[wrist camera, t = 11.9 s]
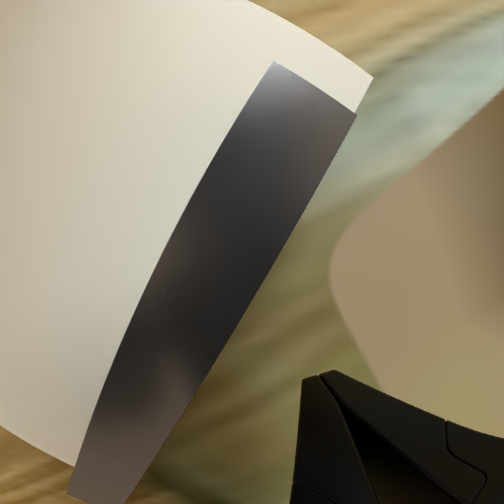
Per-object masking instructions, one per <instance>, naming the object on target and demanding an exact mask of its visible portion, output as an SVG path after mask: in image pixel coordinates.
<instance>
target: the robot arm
mask: <svg viewBox="0 0 504 504" xmlns="http://www.w3.org/2000/svg"><path fill="white" fill-rule="evenodd" d="M289 504H504V438H500V437H495V436H492V435H488V434H485V433H481V432H478V431H475V430H472V429H469V428H466V427H464V426H461V425H458V424H456V423H453V422H451V421H448V420H447V421H446V422H445V419H443V418H441V417H438V416H436V415H433V414H431V413H429V412H426V411H423V410H421V409H419V408H417V407H415V406H412V405H410V404H407V403H405V402H403V401H401V400H399V399H396V398H394V397H392V396H390V395H387V394H385V393H383V392H381V391H379V390H377V389H374V388H372V387H370V386H368V385H366V384H364V383H362V382H359V381H357V380H355V379H353V378H351V377H349V376H347V375H345V374H343V373H341V372H339V371H337V370H331V371H328V372H324V373H321V374H320V375H319V376H317V375H315V376H311V377H308V378H304V379H303V380H302V385H301V399H300V411H299V423H298V434H297V445H296V455H295V464H294V473H293V484H292V489H291V497H290V503H289Z"/></svg>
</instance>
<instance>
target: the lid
mask: <svg viewBox="0 0 504 504" xmlns="http://www.w3.org/2000/svg"><path fill="white" fill-rule="evenodd" d="M372 80H373V77H372V76H371V75H369V74H368V73H367V72H365V71H364V70H363V69H361V68H360V67H359V66H357V65H356V64H354V63H353V62H352V61H350V60H349V59H347V58H346V57H344V56H343V55H342V54H340V53H339V52H337V51H336V50H334V49H333V48H331V47H330V46H328V45H327V44H325V43H323V42H322V41H320V40H319V39H317V38H316V37H314V36H312V35H311V34H309V33H307V32H306V31H304V30H302V29H301V28H299V27H297V26H296V25H294V24H292V23H290V22H289V21H287V20H285V19H283V18H281V17H279V16H278V15H276V14H274V13H272V12H270V11H268V10H266V9H264V8H262V7H260V6H258V5H256V4H254V3H252V2H250V1H248V0H0V426H2V427H3V428H5V429H6V430H8V431H9V432H11V433H13V434H14V435H16V436H17V437H19V438H21V439H22V440H24V441H26V442H27V443H29V444H31V445H33V446H34V447H36V448H38V449H40V450H42V451H43V452H45V453H47V454H49V455H51V456H53V457H55V458H57V459H59V460H61V461H63V462H65V463H67V464H69V465H71V466H73V467H75V468H74V471H73V474H72V477H71V481H70V484H69V487H68V491H67V494H69V495H71V496H74V497H76V498H78V499H81V500H83V501H86V502H88V503H90V504H124V503H125V502H126V500H127V499H128V497H129V496H130V494H131V493H132V491H133V490H134V488H135V487H136V485H137V484H138V482H139V481H140V479H141V478H142V476H143V475H144V473H145V471H146V470H147V468H148V467H149V465H150V464H151V462H152V461H153V459H154V458H155V456H156V455H157V453H158V451H159V450H160V448H161V447H162V445H163V444H164V442H165V440H166V439H167V437H168V436H169V434H170V433H171V431H172V430H173V428H174V426H175V425H176V423H177V422H178V420H179V418H180V417H181V415H182V414H183V412H184V411H185V409H186V407H187V406H188V404H189V403H190V401H191V399H192V398H193V396H194V395H195V393H196V391H197V390H198V388H199V386H200V385H201V383H202V382H203V380H204V378H205V377H206V375H207V374H208V372H209V370H210V369H211V367H212V365H213V364H214V362H215V361H216V359H217V357H218V356H219V354H220V352H221V351H222V349H223V347H224V346H225V344H226V342H227V341H228V339H229V337H230V336H231V334H232V333H233V331H234V329H235V328H236V326H237V324H238V323H239V321H240V319H241V318H242V316H243V314H244V313H245V311H246V309H247V308H248V306H249V304H250V303H251V301H252V299H253V297H254V296H255V294H256V292H257V291H258V289H259V287H260V286H261V284H262V282H263V281H264V279H265V277H266V275H267V274H268V272H269V270H270V269H271V267H272V265H273V264H274V262H275V260H276V258H277V257H278V255H279V253H280V252H281V250H282V248H283V246H284V245H285V243H286V241H287V239H288V238H289V236H290V234H291V232H292V231H293V229H294V227H295V226H296V224H297V222H298V220H299V219H300V217H301V215H302V213H303V212H304V210H305V208H306V206H307V205H308V203H309V201H310V199H311V197H312V196H313V194H314V192H315V190H316V189H317V187H318V185H319V183H320V182H321V180H322V178H323V176H324V174H325V173H326V171H327V169H328V167H329V165H330V164H331V162H332V160H333V158H334V156H335V155H336V153H337V151H338V149H339V147H340V146H341V144H342V142H343V140H344V138H345V137H346V135H347V133H348V131H349V129H350V127H351V126H352V124H353V122H354V120H355V118H356V116H357V115H356V114H355V111H356V109H357V107H358V105H359V104H360V102H361V100H362V98H363V96H364V94H365V93H366V91H367V89H368V87H369V85H370V83H371V81H372Z"/></svg>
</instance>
